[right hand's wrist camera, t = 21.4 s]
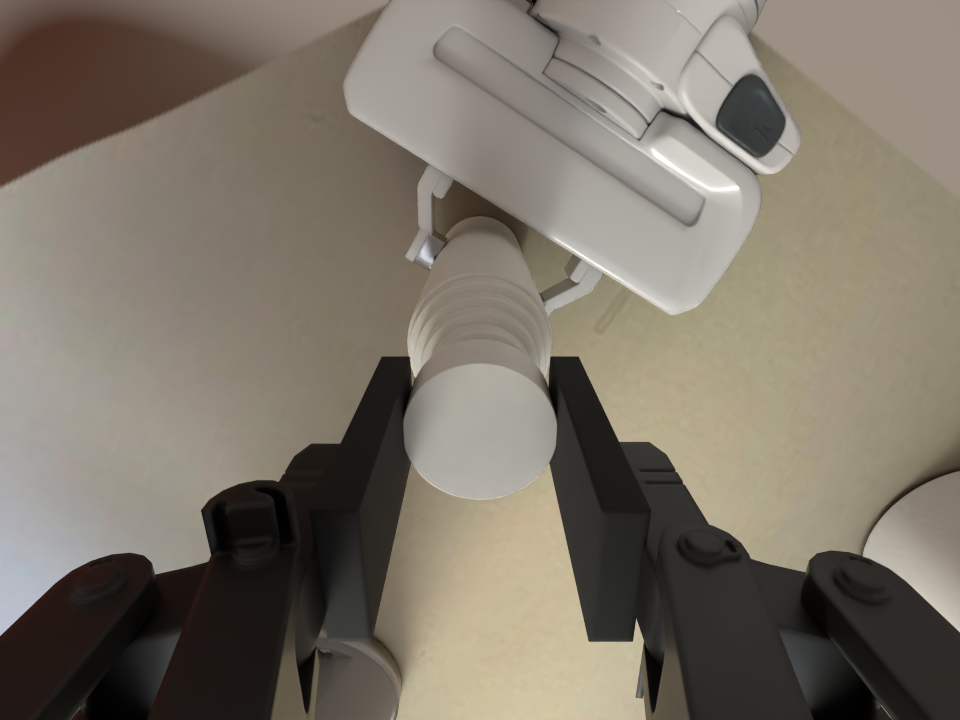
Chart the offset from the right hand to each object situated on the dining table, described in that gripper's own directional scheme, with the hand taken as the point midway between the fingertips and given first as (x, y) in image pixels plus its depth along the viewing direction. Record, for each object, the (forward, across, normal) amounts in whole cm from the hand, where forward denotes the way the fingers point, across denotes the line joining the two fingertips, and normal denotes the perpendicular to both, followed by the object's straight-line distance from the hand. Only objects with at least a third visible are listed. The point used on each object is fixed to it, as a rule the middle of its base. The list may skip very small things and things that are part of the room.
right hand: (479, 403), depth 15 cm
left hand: (+15, 0, -1) cm, 15 cm away
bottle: (+21, 0, 0) cm, 21 cm away
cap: (-1, 0, 0) cm, 1 cm away
